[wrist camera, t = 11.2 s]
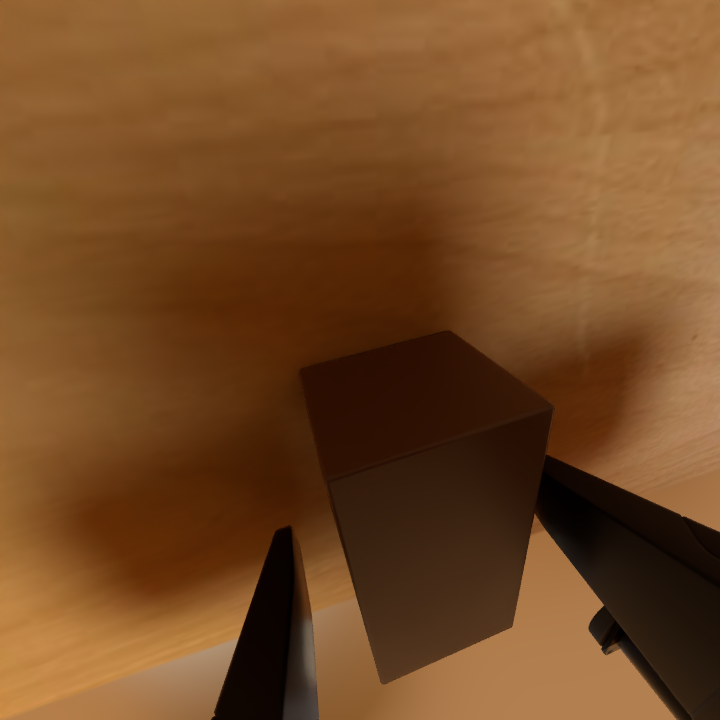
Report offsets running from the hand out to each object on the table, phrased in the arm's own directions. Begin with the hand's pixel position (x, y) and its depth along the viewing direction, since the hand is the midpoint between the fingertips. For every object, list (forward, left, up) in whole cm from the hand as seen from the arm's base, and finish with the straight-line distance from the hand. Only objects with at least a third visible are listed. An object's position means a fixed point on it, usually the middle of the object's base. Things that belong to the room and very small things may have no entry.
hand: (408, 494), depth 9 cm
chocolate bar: (0, 0, -1) cm, 1 cm away
